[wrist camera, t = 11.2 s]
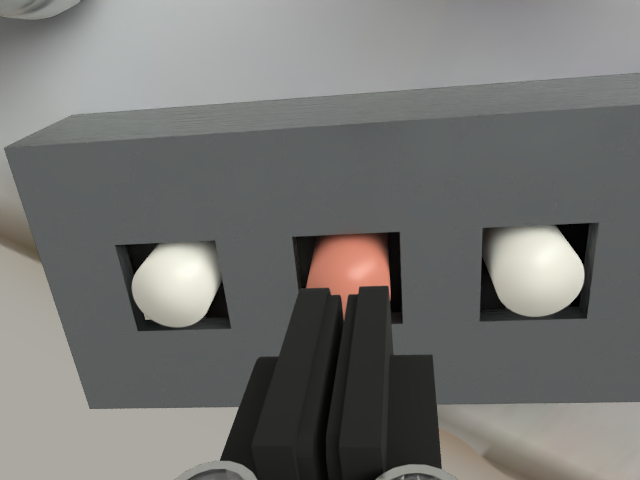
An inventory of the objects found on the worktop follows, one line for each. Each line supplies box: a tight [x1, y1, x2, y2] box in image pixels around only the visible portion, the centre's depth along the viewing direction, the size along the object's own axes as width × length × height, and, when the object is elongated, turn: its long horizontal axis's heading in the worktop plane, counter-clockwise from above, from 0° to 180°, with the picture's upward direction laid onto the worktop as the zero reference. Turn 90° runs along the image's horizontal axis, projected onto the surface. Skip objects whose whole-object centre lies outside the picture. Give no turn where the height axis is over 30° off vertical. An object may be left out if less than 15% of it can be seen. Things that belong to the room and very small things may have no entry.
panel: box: [4, 73, 640, 409], centre depth 28 cm, size 28×14×6 cm, turn 95°
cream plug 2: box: [482, 225, 584, 317], centre depth 27 cm, size 4×4×6 cm
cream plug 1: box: [132, 240, 222, 327], centre depth 28 cm, size 4×4×6 cm
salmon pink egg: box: [306, 232, 391, 318], centre depth 27 cm, size 4×4×6 cm
